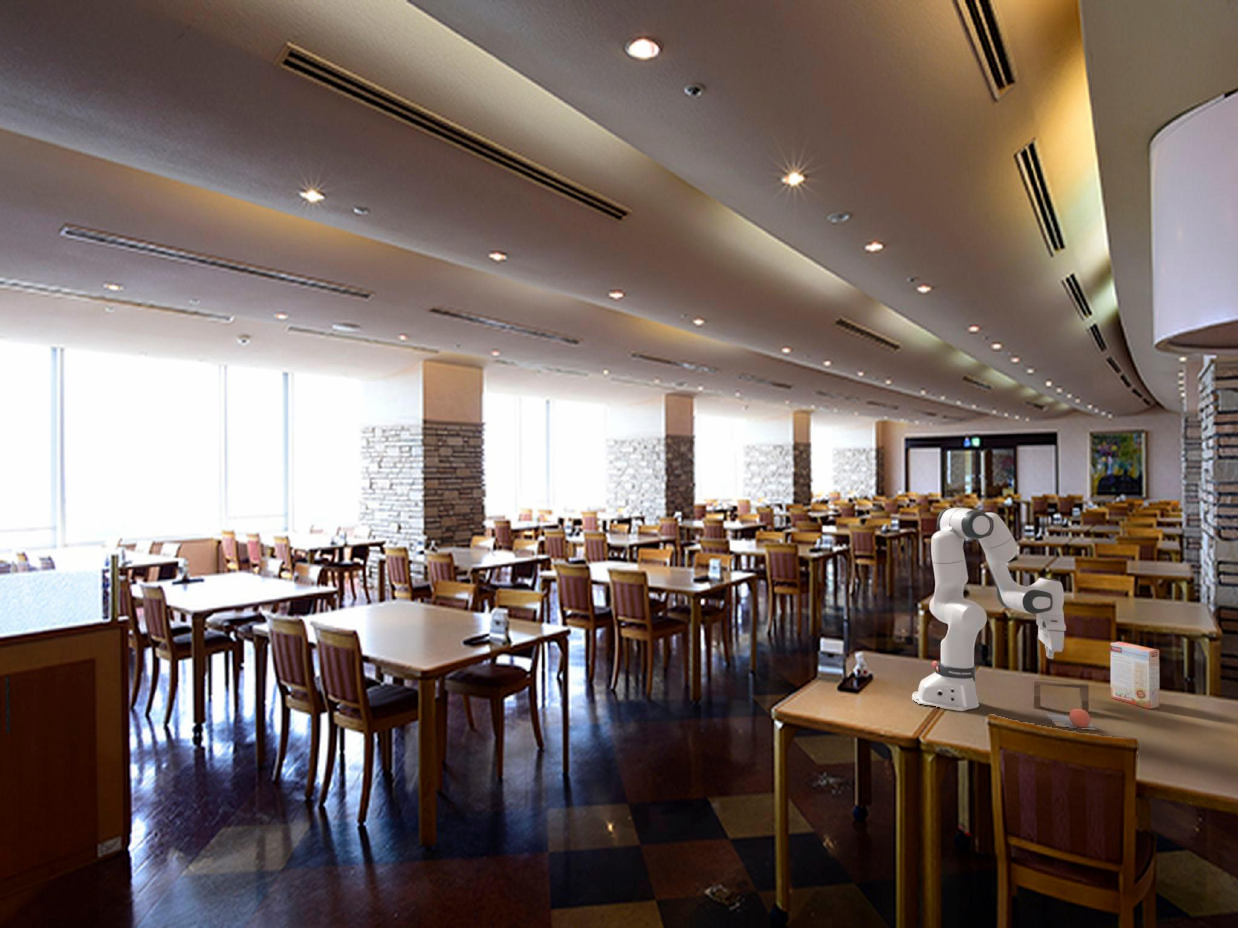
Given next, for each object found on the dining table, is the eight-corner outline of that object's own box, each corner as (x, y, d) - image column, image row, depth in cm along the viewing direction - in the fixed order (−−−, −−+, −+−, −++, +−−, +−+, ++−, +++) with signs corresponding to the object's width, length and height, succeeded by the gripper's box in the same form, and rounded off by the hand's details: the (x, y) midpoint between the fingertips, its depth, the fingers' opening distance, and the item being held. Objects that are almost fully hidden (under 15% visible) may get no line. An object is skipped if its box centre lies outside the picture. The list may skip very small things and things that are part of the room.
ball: (1071, 709, 237) (1065, 707, 242) (1074, 728, 235) (1068, 726, 241) (1091, 709, 235) (1084, 707, 241) (1095, 728, 234) (1088, 726, 240)
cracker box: (1160, 707, 257) (1160, 649, 257) (1149, 709, 255) (1149, 651, 255) (1120, 695, 270) (1120, 640, 270) (1109, 697, 268) (1109, 642, 268)
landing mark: (1056, 726, 239) (1056, 726, 239) (1046, 714, 250) (1046, 714, 250) (1097, 730, 235) (1097, 730, 235) (1086, 718, 246) (1086, 717, 246)
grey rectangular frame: (1088, 712, 252) (1088, 685, 252) (1034, 707, 257) (1033, 680, 257) (1085, 709, 255) (1085, 682, 255) (1032, 705, 260) (1031, 678, 260)
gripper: (1033, 614, 279) (1033, 650, 279) (1047, 626, 259) (1047, 664, 259) (1052, 615, 277) (1052, 651, 277) (1067, 627, 258) (1067, 665, 258)
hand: (1050, 657), depth 268 cm, fingers closed
